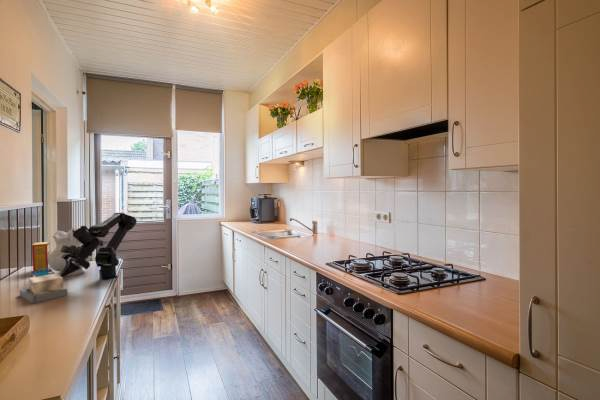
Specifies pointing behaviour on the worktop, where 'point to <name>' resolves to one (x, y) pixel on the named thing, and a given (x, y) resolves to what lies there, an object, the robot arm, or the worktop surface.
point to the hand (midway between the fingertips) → (60, 276)
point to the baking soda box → (40, 256)
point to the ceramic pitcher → (55, 256)
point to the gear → (42, 273)
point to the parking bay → (34, 299)
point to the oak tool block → (45, 284)
